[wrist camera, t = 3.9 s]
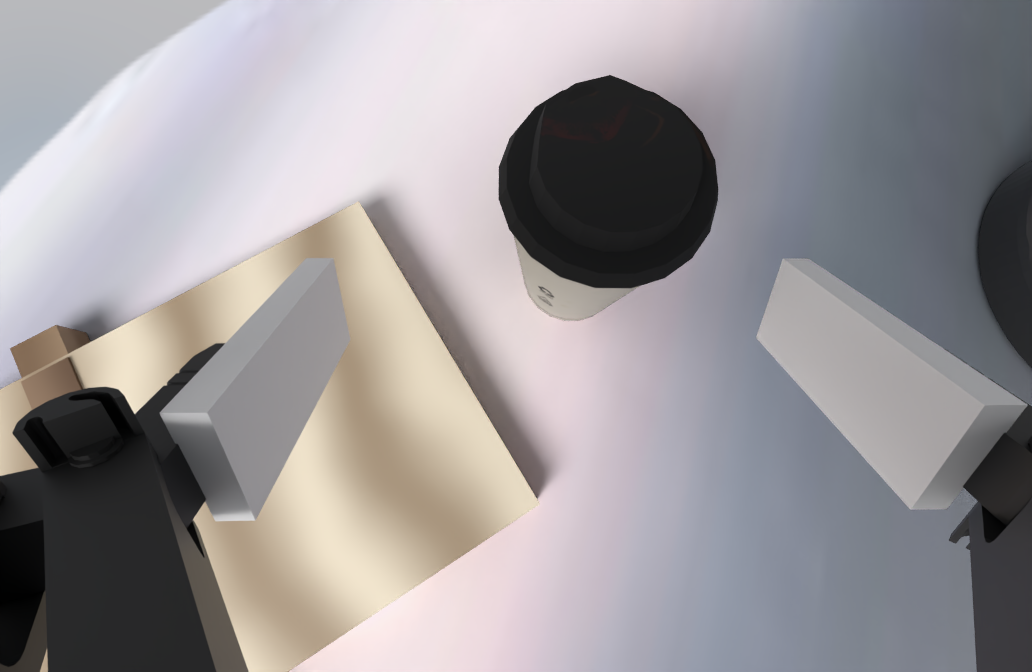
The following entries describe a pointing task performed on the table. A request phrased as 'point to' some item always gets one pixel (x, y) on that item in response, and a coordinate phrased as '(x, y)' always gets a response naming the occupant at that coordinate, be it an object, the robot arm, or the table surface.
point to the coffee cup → (604, 194)
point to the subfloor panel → (314, 444)
